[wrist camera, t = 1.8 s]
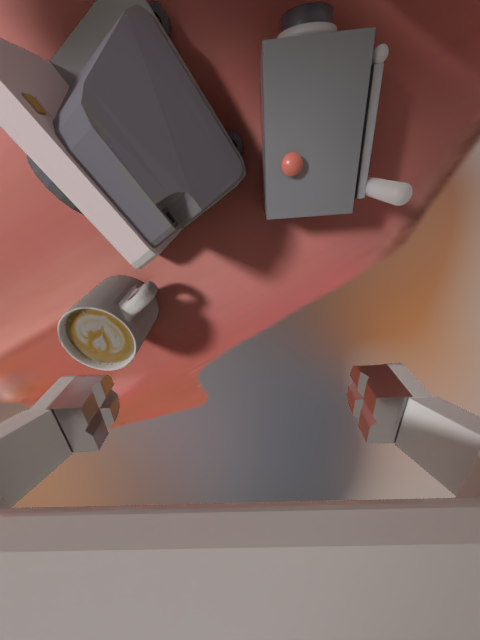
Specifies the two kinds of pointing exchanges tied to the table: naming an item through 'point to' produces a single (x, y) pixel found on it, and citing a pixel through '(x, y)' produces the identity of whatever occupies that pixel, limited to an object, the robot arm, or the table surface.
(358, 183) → the side door
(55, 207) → the table surface
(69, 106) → the instant camera
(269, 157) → the camera box
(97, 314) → the coffee mug
